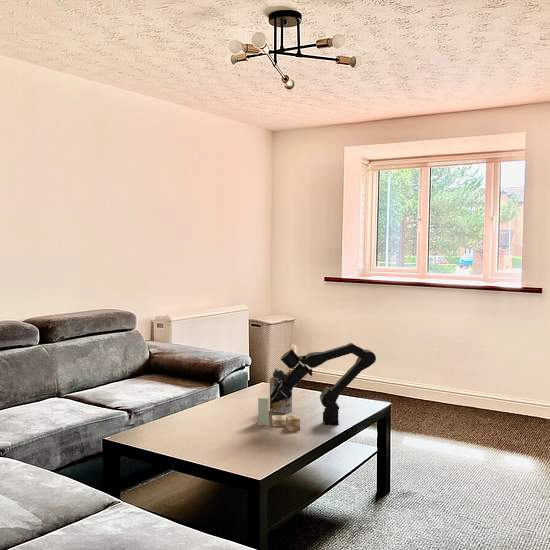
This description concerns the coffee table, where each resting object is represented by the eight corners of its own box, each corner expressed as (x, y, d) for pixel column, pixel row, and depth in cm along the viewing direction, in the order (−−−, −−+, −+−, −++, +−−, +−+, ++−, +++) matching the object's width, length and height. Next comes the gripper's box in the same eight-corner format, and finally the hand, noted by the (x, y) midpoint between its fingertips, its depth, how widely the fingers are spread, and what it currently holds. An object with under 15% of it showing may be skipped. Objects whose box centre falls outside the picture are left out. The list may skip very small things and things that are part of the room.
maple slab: (287, 421, 268) (287, 415, 267) (288, 426, 261) (288, 420, 260) (272, 422, 267) (272, 415, 267) (272, 426, 260) (272, 420, 260)
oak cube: (296, 426, 260) (296, 415, 260) (300, 430, 255) (300, 418, 255) (285, 427, 259) (285, 416, 258) (288, 431, 254) (288, 419, 254)
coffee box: (292, 410, 284) (292, 377, 283) (285, 414, 278) (285, 380, 277) (276, 408, 289) (276, 375, 288) (269, 411, 283) (269, 377, 282)
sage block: (268, 422, 266) (268, 395, 265) (268, 425, 261) (268, 398, 261) (258, 422, 266) (258, 395, 265) (258, 425, 261) (258, 398, 261)
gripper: (282, 358, 272) (258, 382, 272) (284, 367, 253) (258, 392, 253) (299, 375, 273) (274, 399, 273) (302, 385, 254) (276, 410, 254)
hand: (271, 400), depth 263 cm, fingers open, 9 cm apart
